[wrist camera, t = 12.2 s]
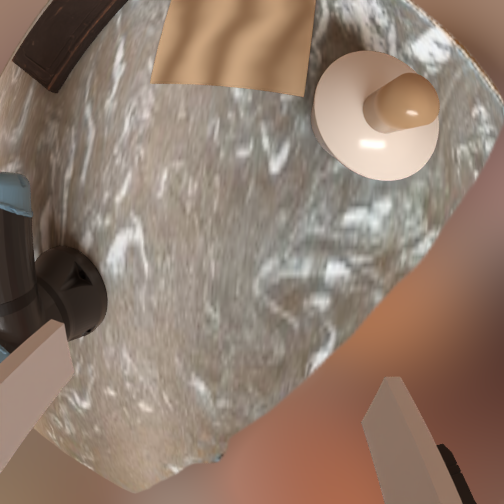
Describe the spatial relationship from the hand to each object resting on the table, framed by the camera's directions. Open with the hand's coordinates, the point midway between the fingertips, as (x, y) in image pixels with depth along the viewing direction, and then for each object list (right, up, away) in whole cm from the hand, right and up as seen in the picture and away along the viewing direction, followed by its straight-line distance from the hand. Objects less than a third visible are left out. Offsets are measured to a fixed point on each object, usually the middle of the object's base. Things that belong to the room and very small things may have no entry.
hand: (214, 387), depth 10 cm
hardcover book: (-28, +43, +20) cm, 55 cm away
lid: (+14, +19, +16) cm, 29 cm away
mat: (-1, +35, +20) cm, 41 cm away
